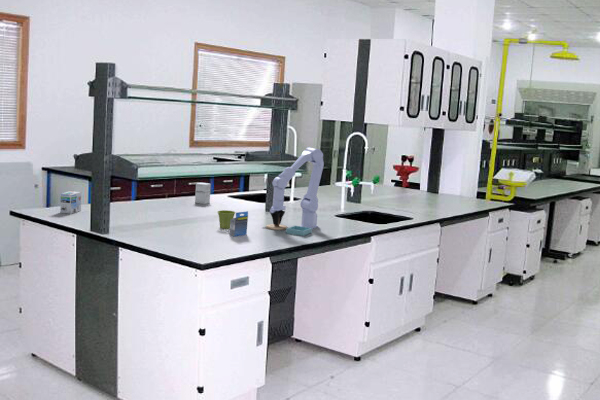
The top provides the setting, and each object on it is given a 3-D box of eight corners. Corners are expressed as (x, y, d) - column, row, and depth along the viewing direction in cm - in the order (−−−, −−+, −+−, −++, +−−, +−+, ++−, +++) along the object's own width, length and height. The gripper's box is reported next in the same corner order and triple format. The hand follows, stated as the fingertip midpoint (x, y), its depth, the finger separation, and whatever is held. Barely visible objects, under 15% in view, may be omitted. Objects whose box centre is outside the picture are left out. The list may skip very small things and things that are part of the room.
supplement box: (194, 202, 414) (195, 183, 412) (199, 201, 421) (200, 182, 419) (205, 204, 412) (206, 184, 410) (210, 202, 419) (211, 183, 417)
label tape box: (241, 233, 335) (242, 209, 333) (247, 234, 332) (248, 211, 330) (229, 235, 328) (230, 211, 326) (234, 236, 325) (236, 212, 323)
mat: (272, 225, 360) (272, 224, 360) (291, 228, 355) (291, 228, 355) (261, 228, 349) (261, 228, 349) (281, 232, 344) (281, 231, 344)
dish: (294, 230, 349) (295, 225, 349) (311, 233, 345) (311, 228, 345) (286, 233, 340) (286, 228, 340) (303, 236, 336) (303, 231, 336)
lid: (272, 225, 359) (273, 214, 358) (290, 228, 354) (291, 217, 353) (262, 228, 349) (263, 217, 348) (280, 231, 345) (281, 220, 344)
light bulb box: (71, 214, 353) (71, 194, 351) (59, 212, 354) (60, 193, 353) (81, 210, 364) (81, 191, 362) (70, 209, 365) (70, 190, 363)
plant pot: (222, 230, 338) (223, 214, 337) (213, 226, 346) (214, 210, 344) (237, 229, 344) (238, 213, 342) (228, 225, 351) (229, 209, 350)
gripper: (278, 197, 357) (276, 221, 360) (265, 200, 345) (263, 225, 347) (289, 198, 354) (288, 223, 357) (277, 201, 342) (275, 227, 344)
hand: (276, 224), depth 351 cm, fingers closed on lid, 3 cm apart
